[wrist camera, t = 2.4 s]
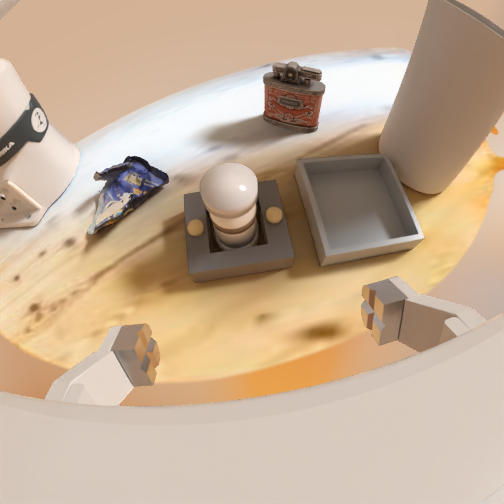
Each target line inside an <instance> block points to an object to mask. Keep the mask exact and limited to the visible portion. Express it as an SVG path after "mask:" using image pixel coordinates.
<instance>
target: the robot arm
mask: <svg viewBox="0 0 504 504" xmlns="http://www.w3.org/2000/svg"><path fill="white" fill-rule="evenodd" d="M19 1H20V0H0V19H1V18H2V17H3V16H4V15H5V14H6V13H7V12H8V11H9V10H10V9H11V8H12V7H14V6H15V5H16V4H17V2H19ZM79 161H80V152H79V149H78V147H77V146H76V145H74V144H73V143H71V142H70V141H69V140H67V139H66V138H65V137H64V136H63V135H62V134H61V133H59V132H58V130H57V129H55V127H54V126H53V125H52V124H51V123H50V122H49V121H48V119H47V117H46V115H45V113H44V111H43V109H42V107H41V106H40V104H39V102H38V101H37V99H36V98H35V97H34V95H33V94H31V93H29V92H28V91H27V89H26V88H25V86H24V84H23V83H22V81H21V79H20V78H19V76H18V74H17V73H16V71H15V69H14V68H13V66H12V64H11V63H10V62H9V61H8V60H6V59H2V58H0V228H11V227H27V226H35V225H37V224H38V223H39V221H40V220H41V218H42V217H43V215H44V214H45V212H46V210H47V209H48V208H49V207H50V205H51V204H52V203H53V202H55V201H56V200H57V199H58V198H59V196H60V195H61V194H62V193H63V192H64V191H65V189H66V188H67V187H68V185H69V184H70V182H71V180H72V179H73V177H74V175H75V173H76V171H77V168H78V165H79ZM362 296H363V298H364V299H365V300H364V302H363V303H362V305H361V315H362V320H363V322H364V325H365V326H366V328H368V329H370V330H372V337H373V338H374V339H375V341H376V342H377V344H378V345H383V344H386V343H390V342H393V341H396V340H398V341H399V342H401V343H403V344H405V345H407V346H409V347H410V348H412V349H414V350H416V351H418V352H420V353H418V354H415V355H413V356H410V357H407V358H405V359H402V360H399V361H396V362H394V363H391V364H388V365H385V366H382V367H379V368H376V369H373V370H370V371H367V372H363V373H360V374H357V375H353V376H349V377H346V378H342V379H339V380H335V381H331V382H327V383H323V384H319V385H315V386H310V387H307V388H302V389H297V390H292V391H287V392H282V393H277V394H271V395H265V396H259V397H253V398H246V399H239V400H232V401H223V402H213V403H203V404H192V405H173V406H118V405H119V404H120V403H121V401H122V400H123V399H124V398H125V397H126V396H127V395H128V394H129V392H130V391H131V390H132V389H133V387H135V386H151V385H154V381H155V377H156V371H155V368H156V367H157V366H158V365H159V361H160V352H159V348H158V345H157V343H156V341H155V340H153V339H152V338H151V334H152V331H151V329H150V327H149V325H148V324H146V323H145V324H134V325H124V326H123V325H121V326H113V327H111V328H110V330H109V332H108V334H107V335H106V337H105V339H104V341H103V343H102V345H101V347H100V349H99V351H98V352H94V353H92V354H91V355H90V356H88V357H87V358H85V359H84V360H83V361H81V362H80V363H79V364H77V365H76V366H74V367H73V368H72V369H70V370H69V371H68V372H66V373H65V374H63V375H62V376H61V377H59V378H58V379H56V380H55V381H54V382H53V384H52V386H51V388H50V390H49V391H48V393H47V395H46V397H45V399H39V398H33V397H27V396H22V395H17V394H12V393H7V392H3V391H0V504H504V312H503V313H501V314H500V315H498V316H496V317H494V318H492V319H491V320H489V321H486V320H485V319H484V318H483V317H482V316H480V315H479V314H478V313H477V312H476V311H475V310H474V309H473V308H470V307H467V306H463V305H460V304H456V303H453V302H449V301H445V300H442V299H438V298H435V297H431V296H428V295H424V294H421V295H419V294H418V293H417V292H416V291H414V290H413V289H412V288H411V287H410V286H409V285H408V284H407V283H406V282H405V281H403V280H402V279H401V278H400V277H397V276H396V277H393V278H389V279H386V280H383V281H379V282H375V283H372V284H368V285H364V286H363V288H362Z"/></svg>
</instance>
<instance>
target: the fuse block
mask: <svg viewBox="0 0 504 504" xmlns="http://www.w3.org/2000/svg"><path fill="white" fill-rule="evenodd" d="M257 185H258V197H257V201H256V210H259V215H260V220H261V225H262V230H263V235H264V240H265V245H258V246H252V247H246V248H240V249H234V250H227V251H221V252H215V253H213V246H212V237H211V228H210V215H209V211H208V210H207V209H206V207H205V205H204V202H203V199H202V196H201V193H200V192H195V193H189V194H184V210H185V228H186V243H187V257H188V269H189V274H190V276H191V277H192V278H193V280H194V281H195V282H196V283H198V282H204V281H211V280H217V279H223V278H230V277H236V276H242V275H248V274H255V273H261V272H267V271H273V270H279V269H284V268H290V267H292V264H293V261H294V257H295V256H294V252H293V247H292V243H291V239H290V235H289V231H288V227H287V222H286V218H285V214H284V210H283V206H282V202H281V199H280V195H279V191H278V187H277V183H276V180H270V181H263V182H257Z"/></svg>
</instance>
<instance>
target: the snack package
mask: <svg viewBox="0 0 504 504" xmlns="http://www.w3.org/2000/svg"><path fill="white" fill-rule="evenodd" d="M145 167H146V168H147V169H148V171H149V172H147V170H146V168H145ZM94 179H95V180H96V181H97V180H104V181H105V180H107V182H106V183H105V186H104V187H103V189H102V191H101V193H100V197H99V201H98V203H99V204H98V209H97V212H96V214H95V216H94V220H93V222H92V224H91V225H90V227H89V230H88V233H89V234H96V232H97V230H99V229H101V228H103V226H107V225H109V224H111V223H114V222H116V221H117V220H118V219H120V218H122V217H123V216H125V215H126V214H127V213H129V212H131V211H132V210H134V209H135V208H136V207H137V206H138V205H139V204H140V203H141V202H142V201H144V200H145V199H146V198H147V197H148V196H149V195H150V194H151V193H152V192H153V191H154V190H155V189H157V188H160V187H161V186H163V185H165V184H167V183H169V177H168V175H167V174H166V173H164V172H162V171H161V170H158V169H157V168H154V167H153V166H150V165H149V164H148V162H147V161H146V160H144V159H142V158H141V157H137V156H132V157H130V156H128V157H127V158H126V159H125V161H124V162H123V164H122V163H121V164H118V165H114V166H112V167H111V168H106V169H105V170H104V171H102V172H101V173H98V172H96V173H95V175H94ZM99 192H100V190H99ZM127 192H128V193H133V194H131V195H130V197H131V198H130V197H129V198H130V200H129V201H128V203H127V204H125V205H124V207H123V208H122V209H120V210H119V211H118V212H116V213H115V214H113V215H112V216H110V217H107V218H106V219H105V220H103V221H102V222H100V223H99V224H98V225H96V220H97V217H98V216H99V215H100V214H101V213H103V211H104V210H106V209H107V208H108V207H110V206H111V205H112V204H114V203H115V202H118V201H120V200H121V198H122V196H123V194H124V193H127ZM122 202H123V200H122ZM94 228H95V232H94V233H93V230H94Z"/></svg>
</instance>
